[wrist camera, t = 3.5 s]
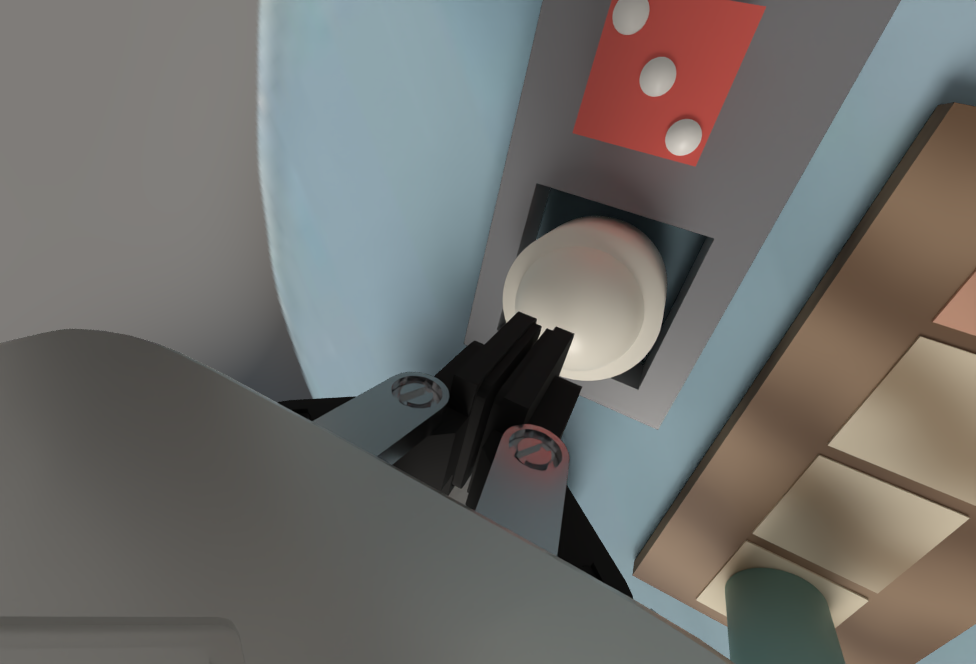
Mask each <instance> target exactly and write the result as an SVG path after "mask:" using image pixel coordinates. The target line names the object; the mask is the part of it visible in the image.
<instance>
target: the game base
mask: <svg viewBox="0 0 976 664" xmlns="http://www.w3.org/2000/svg"><path fill="white" fill-rule="evenodd" d="M900 1H901V0H543V2H542V6H541V11H540V15H539V19H538V24H537V28H536V32H535V37H534V41H533V46H532V50H531V54H530V59H529V63H528V67H527V72H526V76H525V80H524V85H523V89H522V93H521V98H520V102H519V106H518V111H517V115H516V119H515V124H514V128H513V132H512V137H511V141H510V145H509V150H508V154H507V158H506V163H505V167H504V171H503V176H502V180H501V184H500V189H499V193H498V197H497V202H496V206H495V210H494V215H493V219H492V223H491V228H490V232H489V236H488V241H487V245H486V249H485V254H484V258H483V262H482V267H481V271H480V275H479V280H478V284H477V288H476V293H475V297H474V301H473V306H472V310H471V314H470V319H469V323H468V327H467V332H466V336H465V340H464V344H465V345H467V346H468V345H469V344H470V343H471V342H473V341H478V342H480V343H482V344H485V343H486V342H487V341H489V340H490V339H491V338H492V337H493V336H494V335H495V334H496V333H497V332H498V331H499V330H500V329H501V328H502V327H503V326H504V325H505V324H506V320H505V316H504V311H503V289H504V284H505V280H506V277H507V274H508V272H509V270H510V268H511V266H512V264H513V263H514V261H515V260H516V258H517V257H518V256H519V254H520V253H521V252H522V251H523V250H524V249H525V248H526V247H528V246H529V245H530V244H531V243H533V242H534V241H536V237H537V234H538V230H539V227H540V223H541V220H542V216H543V213H544V210H545V206H546V203H547V199H548V196H549V192H550V189H551V188H554V189H557V190H560V191H564V192H567V193H570V194H573V195H576V196H580V197H583V198H586V199H589V200H592V201H596V202H599V203H602V204H605V205H608V206H612V207H615V208H618V209H621V210H624V211H628V212H631V213H634V214H637V215H640V216H644V217H647V218H650V219H653V220H656V221H660V222H663V223H666V224H669V225H672V226H676V227H679V228H682V229H685V230H688V231H692V232H695V233H698V234H701V235H704V236H707V238H706V240H705V242H704V244H703V246H702V248H701V250H700V252H699V254H698V256H697V258H696V260H695V262H694V264H693V266H692V268H691V270H690V272H689V274H688V276H687V278H686V280H685V282H684V284H683V286H682V288H681V290H680V292H679V294H678V296H677V298H676V300H675V302H674V304H673V306H672V309H671V311H670V313H669V315H668V317H667V319H666V321H665V323H664V325H663V327H662V329H661V331H660V333H659V335H658V337H657V339H656V341H655V343H654V345H653V347H652V349H651V351H650V353H649V355H648V357H647V359H646V361H645V363H644V365H642V364H640V363H638V364H636V365H635V366H633V367H632V368H631V369H629V370H627V371H625V372H623V373H622V374H619V375H617V376H614V377H611V378H607V379H602V380H594V381H581V380H573V379H569V378H565V377H561V376H559V377H561V378H564V379H566V380H568V381H570V382H573V383H575V384H577V385H580V386H582V389H581V391H580V394H579V395H580V396H583V397H585V398H587V399H589V400H592V401H594V402H596V403H598V404H601V405H603V406H605V407H607V408H610V409H612V410H614V411H616V412H619V413H621V414H623V415H626V416H628V417H630V418H632V419H635V420H637V421H639V422H641V423H644V424H646V425H648V426H650V427H653V428H655V429H657V430H658V429H659V427H660V425H661V423H662V422H663V420H664V418H665V416H666V415H667V413H668V411H669V409H670V408H671V406H672V404H673V402H674V400H675V399H676V397H677V395H678V393H679V392H680V390H681V388H682V386H683V385H684V383H685V381H686V379H687V378H688V376H689V374H690V372H691V370H692V369H693V367H694V365H695V363H696V362H697V360H698V358H699V356H700V355H701V353H702V351H703V349H704V347H705V346H706V344H707V342H708V340H709V339H710V337H711V335H712V333H713V332H714V330H715V328H716V326H717V324H718V323H719V321H720V319H721V317H722V316H723V314H724V312H725V310H726V309H727V307H728V305H729V303H730V301H731V300H732V298H733V296H734V294H735V293H736V291H737V289H738V287H739V286H740V284H741V282H742V280H743V279H744V277H745V275H746V273H747V271H748V270H749V268H750V266H751V264H752V263H753V261H754V259H755V257H756V256H757V254H758V252H759V250H760V248H761V247H762V245H763V243H764V241H765V240H766V238H767V236H768V234H769V233H770V231H771V229H772V227H773V225H774V224H775V222H776V220H777V218H778V217H779V215H780V213H781V211H782V210H783V208H784V206H785V204H786V202H787V201H788V199H789V197H790V195H791V194H792V192H793V190H794V188H795V187H796V185H797V183H798V181H799V180H800V178H801V176H802V174H803V172H804V171H805V169H806V167H807V165H808V164H809V162H810V160H811V158H812V157H813V155H814V153H815V151H816V149H817V148H818V146H819V144H820V142H821V141H822V139H823V137H824V135H825V134H826V132H827V130H828V128H829V126H830V125H831V123H832V121H833V119H834V118H835V116H836V114H837V112H838V111H839V109H840V107H841V105H842V103H843V102H844V100H845V98H846V96H847V95H848V93H849V91H850V89H851V88H852V86H853V84H854V82H855V81H856V79H857V77H858V75H859V73H860V72H861V70H862V68H863V66H864V65H865V63H866V61H867V59H868V58H869V56H870V54H871V52H872V50H873V49H874V47H875V45H876V43H877V42H878V40H879V38H880V36H881V35H882V33H883V31H884V29H885V27H886V26H887V24H888V22H889V20H890V19H891V17H892V15H893V13H894V12H895V10H896V8H897V6H898V4H899V3H900Z"/></svg>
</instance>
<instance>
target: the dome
mask: <svg viewBox="0 0 976 664" xmlns="http://www.w3.org/2000/svg"><path fill="white" fill-rule="evenodd" d="M667 285H668V284H667V273H666V268H665V264H664V262H663V259H662V256H661V254H660V253H659V251H658V249H657V247H656V246H655V245H654V243H653V242H652V241H651V240H650V239H649V238H648V237H647V236H646V235H645V234H644V233H643V232H642V231H640V230H639V229H638V228H637V227H635V226H633V225H631V224H629V223H628V222H625V221H623V220H620V219H617V218H613V217H608V216H585V217H580V218H576V219H573V220H570V221H568V222H566V223H563V224H562V225H560V226H558V227H557V228H555V229H554V230H552V231H550V232H549V233H547V234H545V235H544V236H542V237H541V238H539V239H537V240H536V241H534V242H533V243H531V244H530V245H529V246H528V247H526V248H525V249H524V250H523V251H522V252H521V253H520V254H519V256H518V257H517V258H516V260H515V261H514V263H513V264H512V266H511V268H510V270H509V272H508V274H507V277H506V280H505V284H504V289H503V311H504V316H505V320H506V323H507V322H508V321H509V320H510V319H511V318H512V317H513V316H514V315H515V314H516V313H517V312H522V313H524V314H527V315H529V316H532V317H534V318H536V319H537V322H536V324H538V325H540V326H542V328H541V332H540V335H539V338H540V336H541V335H542V334H543V332H544V331H545V330H546V329H547V328H548V329H550V330H554V328H555V327H556V326H557V327H559V328H562V329H564V330H567V331H569V332H572V333H574V338H573V341H572V343H571V346H570V348H569V351H568V354H567V356H566V359H565V362H564V364H563V367H562V370H561V372H560V375H559V376H561V377H565V378H569V379H573V380H581V381H594V380H602V379H607V378H611V377H614V376H617V375H619V374H622V373H623V372H625V371H627V370H629V369H631V368H632V367H633V366H635V365H636V364H638V363H639V362H640V361H641V360H642V359H643V358H644V357H645V356H646V355H647V353H648V352H649V351H650V350H651V348H652V346H653V345H654V343H655V341H656V339H657V337H658V334H659V332H660V329H661V324H662V320H663V314H664V308H665V301H666V295H667ZM539 338H538V339H539Z"/></svg>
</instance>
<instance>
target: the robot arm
mask: <svg viewBox="0 0 976 664" xmlns="http://www.w3.org/2000/svg"><path fill="white" fill-rule="evenodd" d="M536 322H537V319H536V318H534V317H532V316H529V315H527V314H524V313H522V312H517V313H516V314H515V315H514V316H513V317H512V318H511V319H510V320H509V321H508V322H507V323H506V324H505V325H504V326H503V327H502V328H501V329H500V330H499V331H498V332H497V333H496V334H495V335H494V336H493V337H492V338H491V339H490V340H489V341H487V342H486V343H485V344H482V343H480V342H478V341H473V342H471V343H470V344H469V345H468V346H467V347H466V348H465V349H464V350H462V351H461V352H460V353H459V354H458V355H457V356H456V357H455V358H454V359H453V360H451V361H450V362H449V363H448V364H447V365H446V366H445V367H444V368H443V369H442V370H440V371H439V372H438V373H437V374H436V375H435V376H434V377H433V376H431V375H429V374H425V373H421V372H405V373H400V374H397V375H395V376H393V377H391V378H389V379H387V380H385V381H384V382H382V383H380V384H378V385H376V386H375V387H373V388H371V389H369V390H367V391H366V392H364V393H362V394H360V395H359V396H357V397H339V398H321V399H304V400H289V401H282V402H275V401H273V400H271V399H269V398H268V397H266V396H264V395H262V394H260V393H258V392H256V391H254V390H253V389H251V388H249V387H247V386H245V385H243V384H241V383H239V382H238V381H236V380H234V379H232V378H230V377H228V376H227V375H225V374H223V373H221V372H218V371H217V370H215V369H213V368H211V367H209V366H207V365H205V364H203V363H201V362H198V361H196V360H194V359H192V358H190V357H188V356H186V355H184V354H182V353H180V352H178V351H175V350H173V349H170V348H168V347H165V346H163V345H160V344H158V343H155V342H151V341H148V340H144V339H141V338H137V337H134V336H130V335H125V334H119V333H113V332H107V331H99V330H87V329H63V330H56V331H51V332H46V333H41V334H37V335H32V336H27V337H23V338H19V339H14V340H10V341H6V342H3V343H0V664H735V663H734V662H732V661H731V660H729V659H728V658H726V657H725V656H723V655H722V654H720V653H719V652H717V651H716V650H715V649H713V648H712V647H710V646H709V645H707V644H706V643H705V642H703V641H702V640H700V639H699V638H697V637H695V636H694V635H692V634H690V633H689V632H687V631H685V630H684V629H682V628H680V627H679V626H677V625H675V624H674V623H672V622H670V621H669V620H667V619H665V618H664V617H662V616H660V615H659V614H658V613H656V612H655V611H654V610H653V609H649V608H647V607H645V606H644V605H642V604H640V603H639V602H637V601H635V600H634V599H633V596H632V593H631V591H630V589H629V587H628V585H627V583H626V581H625V579H624V578H623V576H622V574H621V573H620V571H619V570H618V568H617V566H616V565H615V563H614V561H613V560H612V558H611V556H610V555H609V553H608V552H607V550H606V548H605V547H604V545H603V543H602V542H601V540H600V539H599V537H598V535H597V534H596V532H595V530H594V529H593V527H592V525H591V524H590V522H589V521H588V519H587V517H586V516H585V514H584V512H583V511H582V509H581V507H580V506H579V504H578V503H577V501H576V499H575V498H574V496H573V494H572V493H571V491H570V490H569V488H568V486H567V485H566V484H567V477H568V469H569V452H568V450H567V448H566V446H565V444H564V443H563V442H562V441H561V440H560V439H561V436H562V434H563V432H564V429H565V427H566V425H567V422H568V420H569V418H570V415H571V413H572V411H573V408H574V406H575V403H576V401H577V399H578V396H579V394H580V391H581V389H582V386H580V385H577V384H575V383H573V382H570V381H568V380H566V379H564V378H561V377H559V375H560V372H561V370H562V367H563V364H564V362H565V359H566V356H567V354H568V351H569V348H570V346H571V343H572V341H573V338H574V333H572V332H569V331H567V330H564V329H562V328H559V327H557V326H556V327H555V328H554V330H550V329H548V328H547V329H546V330H545V331H544V332H543V334H542V335H541V336H540V338H539V335H540V332H541V328H542V326H540V325H538V324H536ZM538 338H539V339H538ZM471 474H472V475H471ZM470 476H471V479H470V482H469V485H468V489H467V493H468V497H467V500H466V503H465V504H466V506H465V505H464V504H462V503H460V502H458V501H456V500H455V499H453V498H451V497H449V494H450V493H451V491H452V490H453V488H454V487H455V486H456V487H458V488H460V489H462V488H463V486H464V485H465V484H466V482H467V480H468V479H469V477H470Z"/></svg>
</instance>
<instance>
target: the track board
mask: <svg viewBox="0 0 976 664" xmlns="http://www.w3.org/2000/svg"><path fill="white" fill-rule="evenodd" d="M751 568H771V569H777V570H782V571H786V572H789V573H791V574H794V575H796V576H799V577H801V578H803V579H804V580H806V581H808V582H809V583H811V584H812V585H813V586H815V587H816V588H817V589H818V590H819V591H820V592H821V593H822V595H823V596H824V597H825V599H826V601H827V604H828V607H829V610H830V613H831V617H832V620H833V623H834V627H835V630H836V633H837V637H838V640H839V643H840V647H841V650H842V653H843V657H844V660H845V663H846V664H915V663H917V662H918V661H920V660H921V659H923V658H924V657H926V656H927V655H929V654H930V653H932V652H934V651H935V650H937V649H938V648H940V647H941V646H943V645H944V644H946V643H947V642H949V641H950V640H952V639H953V638H955V637H956V636H958V635H959V634H961V633H963V632H964V631H966V630H967V629H969V628H970V627H972V626H973V625H975V624H976V107H975V106H970V105H965V104H960V103H955V102H954V103H948V104H942V105H938V106H937V107H936V109H935V110H934V112H933V113H932V115H931V116H930V118H929V119H928V121H927V122H926V124H925V125H924V127H923V128H922V130H921V131H920V133H919V134H918V136H917V137H916V139H915V140H914V142H913V143H912V145H911V146H910V148H909V149H908V151H907V152H906V154H905V155H904V157H903V159H902V160H901V162H900V163H899V165H898V166H897V168H896V169H895V171H894V172H893V174H892V175H891V177H890V178H889V180H888V181H887V183H886V184H885V186H884V187H883V189H882V190H881V192H880V193H879V195H878V196H877V198H876V199H875V201H874V202H873V204H872V205H871V207H870V208H869V210H868V211H867V213H866V214H865V216H864V217H863V219H862V220H861V222H860V223H859V225H858V226H857V228H856V229H855V231H854V232H853V234H852V235H851V237H850V238H849V240H848V241H847V243H846V244H845V246H844V247H843V249H842V250H841V252H840V253H839V255H838V256H837V258H836V259H835V261H834V262H833V264H832V265H831V267H830V268H829V270H828V271H827V273H826V274H825V276H824V277H823V279H822V280H821V282H820V283H819V285H818V286H817V288H816V289H815V291H814V292H813V294H812V295H811V297H810V298H809V300H808V301H807V303H806V304H805V306H804V307H803V309H802V310H801V312H800V313H799V315H798V316H797V318H796V319H795V321H794V322H793V324H792V325H791V327H790V328H789V330H788V331H787V333H786V334H785V336H784V337H783V339H782V340H781V342H780V343H779V345H778V346H777V348H776V349H775V351H774V352H773V354H772V355H771V357H770V358H769V360H768V361H767V363H766V364H765V366H764V367H763V369H762V370H761V372H760V373H759V375H758V376H757V378H756V379H755V381H754V382H753V384H752V385H751V387H750V388H749V390H748V391H747V393H746V394H745V396H744V397H743V399H742V400H741V402H740V403H739V405H738V406H737V408H736V409H735V411H734V412H733V414H732V415H731V417H730V418H729V420H728V421H727V423H726V424H725V426H724V427H723V429H722V430H721V432H720V433H719V435H718V436H717V438H716V439H715V441H714V442H713V444H712V445H711V447H710V448H709V450H708V451H707V453H706V454H705V456H704V457H703V459H702V460H701V462H700V463H699V465H698V466H697V468H696V469H695V471H694V472H693V474H692V475H691V477H690V478H689V480H688V481H687V483H686V484H685V486H684V487H683V489H682V490H681V492H680V493H679V495H678V496H677V498H676V499H675V501H674V502H673V504H672V505H671V507H670V508H669V510H668V511H667V513H666V514H665V516H664V517H663V519H662V520H661V522H660V523H659V525H658V526H657V528H656V529H655V531H654V532H653V534H652V535H651V537H650V538H649V540H648V542H647V543H646V545H645V546H644V548H643V549H642V551H641V552H640V554H639V555H638V557H637V558H636V560H635V561H634V568H633V576H635V577H636V578H638V579H640V580H642V581H644V582H646V583H648V584H649V585H651V586H653V587H655V588H657V589H659V590H660V591H662V592H664V593H666V594H668V595H670V596H672V597H673V598H675V599H677V600H679V601H681V602H683V603H684V604H686V605H688V606H690V607H692V608H694V609H696V610H697V611H699V612H701V613H703V614H705V615H707V616H709V617H710V618H712V619H714V620H716V621H718V622H720V623H721V624H723V625H725V626H727V627H728V625H727V613H726V601H725V585H726V583H727V581H728V580H729V578H730V577H731V576H733V575H734V574H736V573H737V572H740V571H742V570H746V569H751Z"/></svg>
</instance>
